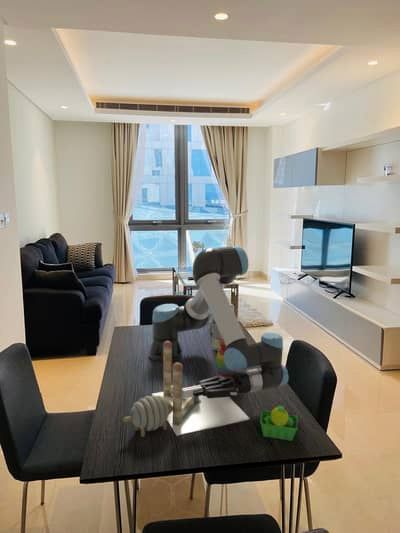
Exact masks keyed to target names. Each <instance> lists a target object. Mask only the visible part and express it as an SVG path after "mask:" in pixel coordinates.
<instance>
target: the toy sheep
mask: <svg viewBox="0 0 400 533" xmlns="http://www.w3.org/2000/svg"><path fill="white" fill-rule="evenodd" d="M172 410H173V407H172V404H171V403H170V402H168V401H166V400H165V399H164V398H163V397H162V396H155V395H152V394H151V395H146V396H144V397H143V398H140V399H138V401H135V402H134V403H133V404H132V408H131V410H130V413H129V415H128V416H124V417H123V419H122V421H123V423H128V422H132V424H133V425H134V429H135V431H139V430H140V437H141V438H144V437H145V435H146V431H147V432H150V431H155V430H156V431H157V429H158V428H161V427H162V430H167V418H168V415H169V414H170V413H171V412H172Z"/></svg>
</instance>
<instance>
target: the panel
mask: <svg viewBox="0 0 400 533" xmlns="http://www.w3.org/2000/svg"><path fill="white" fill-rule="evenodd" d="M183 366H184V365H183V364H182V363H181V362H175V363H173V364H172V368H171V371H172V386H173V422H174V423H180V422H181V421H182V417H183V416H184V414H185V413H186V412H187V411H188V410H189V409H190V407H191V406H192V405H193V404H194V397H190V398H188V399H187V400H186V401H185V402H184V403H183V404H182V388H183V369H184V368H183Z"/></svg>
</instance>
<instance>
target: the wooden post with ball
mask: <svg viewBox="0 0 400 533" xmlns="http://www.w3.org/2000/svg"><path fill="white" fill-rule="evenodd" d="M172 362H173V361H172V343H171V342H170V341H165V342H164V343H163V362H162V363H163V370H162V371H163V372H162V379H163V382H162V384H163V385H162V388H163V390H162V392H163V395H164V396H170V395H173V384H172V366H173V364H172ZM198 385H199V384H194V385H191V386H190V387H193V386H198ZM187 399H188V398H187ZM198 402H199V396H196V397H194V403H198Z"/></svg>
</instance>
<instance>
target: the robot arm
mask: <svg viewBox="0 0 400 533" xmlns="http://www.w3.org/2000/svg"><path fill="white" fill-rule="evenodd" d="M248 269H249V258H248V255H247V252H246V250H244V248H243V247H240V246H234V245H233V246H224V247H223V246H222V247H209V248H205V249H202V250H201V251H200V252H199V253H198V254H197V255H196V256H195V258H194V260H193V264H192V276H193V277H192V278H193V281H194V284H195V286H196V288H198V290H197V291H196V293H195V295H193V297H192V298H191V297H190V298H189V299H188V300H187V301H186V302H185V304H184V305H180V306H178V304H176V303H165V304H164V303H163V304H160V305H157V306H156V307H154V309H153V310H152V318H151V320H152V341H151V344H150V347H149V350H148V357H149V359H151V360H153V361H156V362H161V363H163V343H164V342H165V341H170V342H171V343H172V362H174V361H178V360H179V359H181V358H182V356H183V350H182V346H181V344H180V340H179V333H182V332H185V331H186V332H187V331H192V330H200V329H203V328H205V327H207V326H208V325H209V323H210V322H211V314H212V316H213V318H214V321H215V323H216V325H217V328H218V330H219V332H220V335H221V337H222V339H223V341H224V344H225V346H226V348H227V350H226V351H225V352H224V356H223V357H224V363H225V365H226V367H227V368H228V369H229V370H231V371H238V370H239V371H240V372H235V373H234V374H233V375H232V377H225V378H224V377H222V375H221V374H218V375H217V376H216V375H214V376H212V377H208V378H206V379H202V380H199V381H198V384H197V385H198V386H193V385H192V386H193V387H191V386H188V387H182V397H183V399H185V398H190V397H196V396H201V395H203V396H207V398H221V397H230V398H237V397H238V395H245V394H249V393H255V392H259V391H265V390H269V389H276V388H280V387H283V386H286V384H288V382H289V372H288V369H287V367H286V366H285V365H283V364H282V363H283V350H284V341H283V340H284V339H283V336H281V335H280V334H278V333H274V332H266V333H263V334H262V335H261V338H260V341H258V342H254V343H249V341H248V340H247V338H246V336H245V333H244V331H243V328H242V327H241V324H240V323H239V321H238V318H237V316H236V314H235V312H234V308H233V309H232V307H231V305H230V304H231V303H230V300H229V299H228V297H227V294H226V292H225V290H224V288H225V286H227V285H230V284H232V283H233V282H234V281H235V280H236V278H237V277H238V276H243V275H245V274H247V273H248ZM256 366H260V367H257V368H253V367H256ZM249 368H251V369H249Z"/></svg>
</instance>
